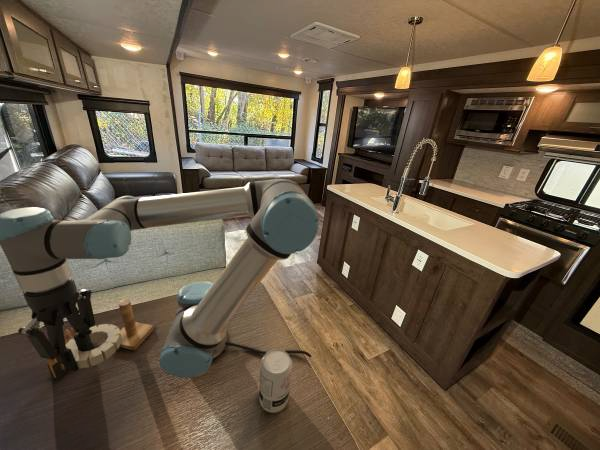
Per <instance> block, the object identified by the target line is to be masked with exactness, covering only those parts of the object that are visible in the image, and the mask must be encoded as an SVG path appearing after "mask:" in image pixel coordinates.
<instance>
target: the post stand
mask: <svg viewBox="0 0 600 450" xmlns="http://www.w3.org/2000/svg"><path fill="white" fill-rule="evenodd" d="M118 307H119V311H120V317H121V319H122V323H123V327H122V328H121V329H119V330H120V334H121V337H122V343H121V344H120V346H119V348H122V349H126V350H132V351H136V350H137V349H138V348H139V347H140V345H141V344H142V343H143V342H144V341H145V340H146V338H148V336H149V335H150V334H151V333H152V332H153V331H154V329H155V325H152V324H147V323H142V322H137V321H136V319H135V316H134V311H133V306H132V303H131V300H130V299H128V298H126V299H122V300H121V301H119V302H118Z"/></svg>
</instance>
